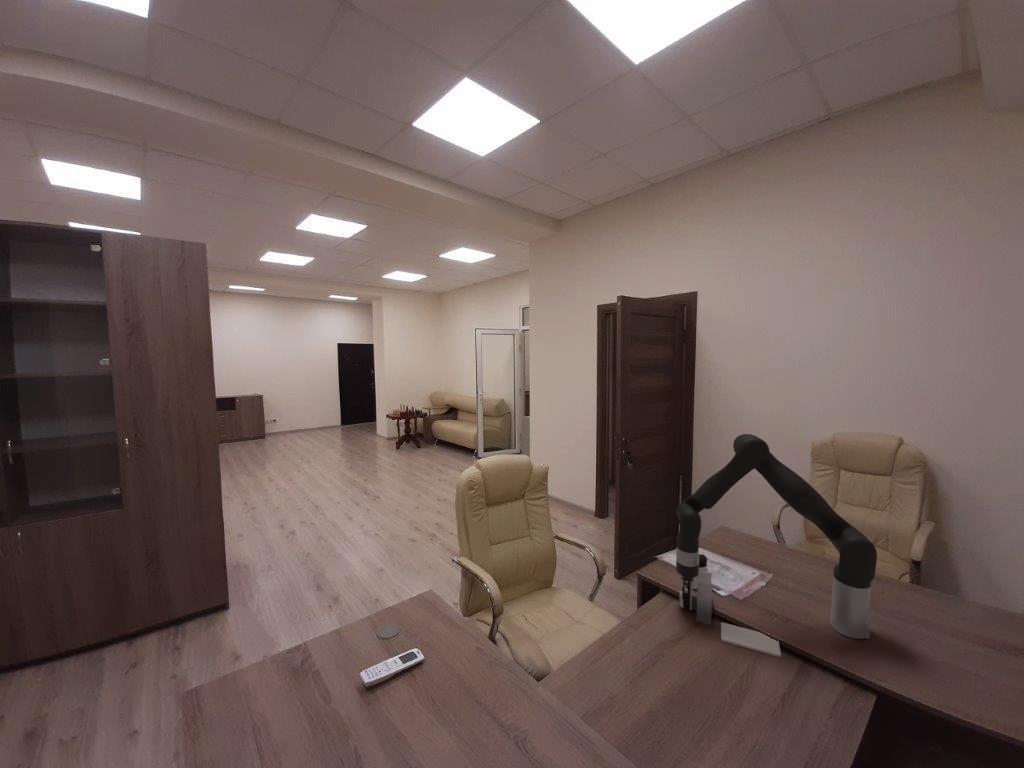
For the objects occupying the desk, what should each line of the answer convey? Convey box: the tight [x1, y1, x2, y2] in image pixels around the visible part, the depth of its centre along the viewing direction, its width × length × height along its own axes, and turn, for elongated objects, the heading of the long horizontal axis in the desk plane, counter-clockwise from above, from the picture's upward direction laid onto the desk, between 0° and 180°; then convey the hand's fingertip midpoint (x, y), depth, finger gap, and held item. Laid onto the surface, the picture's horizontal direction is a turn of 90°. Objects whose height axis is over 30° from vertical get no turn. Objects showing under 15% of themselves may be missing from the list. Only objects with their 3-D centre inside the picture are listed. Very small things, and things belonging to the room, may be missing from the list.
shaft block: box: [695, 583, 713, 626], centre depth 141 cm, size 4×15×7 cm, turn 153°
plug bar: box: [678, 590, 715, 615], centre depth 143 cm, size 11×4×4 cm, turn 63°
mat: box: [720, 621, 782, 658], centre depth 127 cm, size 16×8×1 cm, turn 63°
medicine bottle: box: [692, 552, 712, 590], centre depth 156 cm, size 7×7×12 cm
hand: (686, 603), depth 145 cm, fingers closed on plug bar, 4 cm apart
